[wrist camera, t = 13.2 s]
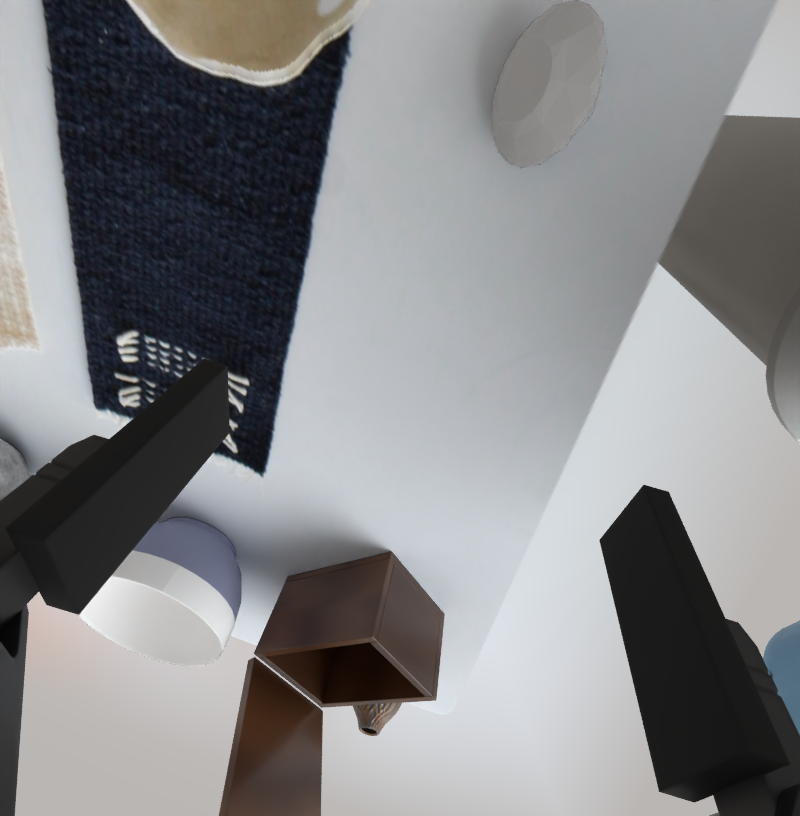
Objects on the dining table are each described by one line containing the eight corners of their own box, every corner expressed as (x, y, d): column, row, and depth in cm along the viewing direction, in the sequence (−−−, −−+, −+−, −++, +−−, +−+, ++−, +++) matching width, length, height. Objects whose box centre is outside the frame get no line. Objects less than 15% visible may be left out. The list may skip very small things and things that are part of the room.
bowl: (122, 544, 53) (58, 619, 45) (146, 471, 44) (72, 549, 36) (240, 601, 56) (198, 681, 48) (285, 543, 47) (244, 630, 39)
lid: (216, 868, 29) (114, 922, 30) (319, 915, 34) (228, 959, 34) (254, 656, 43) (183, 697, 44) (323, 710, 48) (258, 746, 48)
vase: (417, 667, 57) (406, 746, 50) (371, 666, 60) (354, 742, 52) (399, 638, 54) (384, 719, 47) (350, 639, 56) (329, 716, 49)
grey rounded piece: (620, 189, 21) (551, 168, 18) (527, 175, 25) (461, 157, 22) (683, 25, 18) (613, -29, 15) (567, 42, 22) (497, 2, 20)
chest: (391, 551, 44) (371, 636, 37) (444, 614, 49) (436, 700, 42) (287, 576, 50) (253, 653, 43) (343, 630, 55) (321, 707, 48)
